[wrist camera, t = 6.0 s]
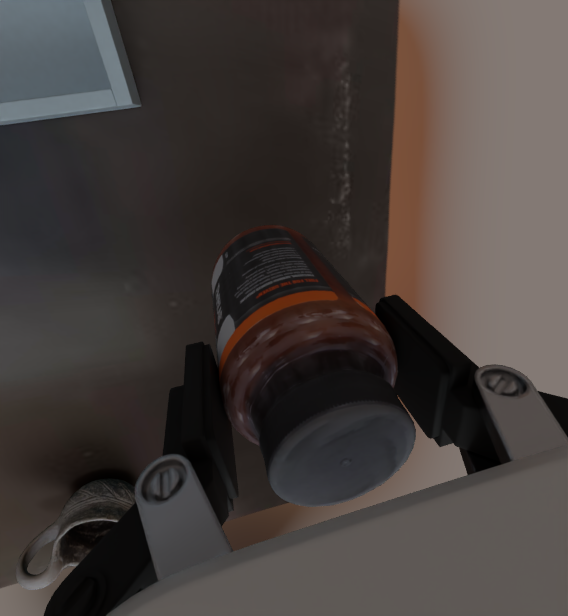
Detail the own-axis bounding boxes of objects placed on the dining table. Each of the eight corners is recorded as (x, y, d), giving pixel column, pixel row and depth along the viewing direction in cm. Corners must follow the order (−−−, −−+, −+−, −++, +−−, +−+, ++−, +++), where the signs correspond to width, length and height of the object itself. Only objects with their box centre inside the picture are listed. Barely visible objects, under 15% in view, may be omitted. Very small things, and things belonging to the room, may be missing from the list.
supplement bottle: (185, 278, 17) (166, 492, 7) (270, 195, 16) (379, 317, 6) (264, 340, 20) (324, 548, 10) (340, 274, 19) (487, 438, 9)
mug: (156, 498, 48) (147, 579, 40) (66, 524, 47) (37, 614, 38) (132, 458, 43) (116, 541, 35) (30, 485, 42) (-13, 579, 33)
